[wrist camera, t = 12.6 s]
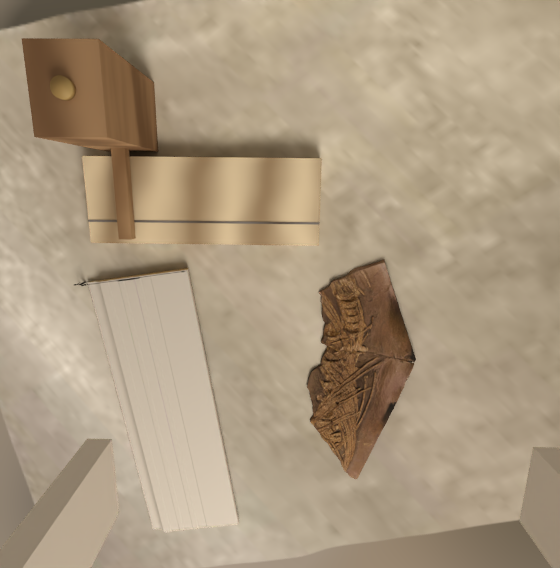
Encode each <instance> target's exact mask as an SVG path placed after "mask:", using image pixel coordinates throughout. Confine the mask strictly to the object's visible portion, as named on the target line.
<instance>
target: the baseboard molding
mask: <svg viewBox="0 0 560 568" xmlns="http://www.w3.org/2000/svg"><path fill="white" fill-rule="evenodd" d="M87 282H88V281H87ZM84 283H86V282H83V283H81V284H79V283H78V284H79V285H81V286H84V285H86V284H84ZM78 284H75V285H78ZM82 284H84V285H82ZM87 285H88V286H89V290H90V293H91V297H92V301H93V305H94V308H95V312H96V316H97V320H98V323H99V327H100V331H101V335H102V339H103V342H104V346H105V350H106V354H107V357H108V361H109V365H110V369H111V372H112V376H113V380H114V384H115V388H116V391H117V395H118V399H119V403H120V406H121V410H122V414H123V418H124V422H125V425H126V429H127V433H128V437H129V440H130V444H131V448H132V452H133V455H134V459H135V463H136V467H137V471H138V474H139V478H140V482H141V486H142V489H143V493H144V497H145V501H146V504H147V508H148V512H149V516H150V520H151V523H152V527H153V530H155V529H161V530H162V531H163V532H171V531H176V530H180V531H182V530H185V529H198V528H203V527H207V528H209V527H218V526H227V525H236V524H239V518H238V513H237V508H236V503H235V498H234V493H233V488H232V483H231V478H230V473H229V468H228V463H227V459H226V454H225V449H224V444H223V439H222V434H221V429H220V424H219V419H218V414H217V409H216V404H215V399H214V394H213V389H212V384H211V379H210V374H209V369H208V364H207V359H206V354H205V349H204V344H203V339H202V334H201V329H200V324H199V319H198V314H197V309H196V304H195V299H194V295H193V290H192V285H191V280H190V275H189V270H188V268H185V269H178V270H171V271H163V272H156V273H149V274H141V275H134V276H127V277H120V278H112V279H105V280H98V281H91V282H88V284H87Z"/></svg>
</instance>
